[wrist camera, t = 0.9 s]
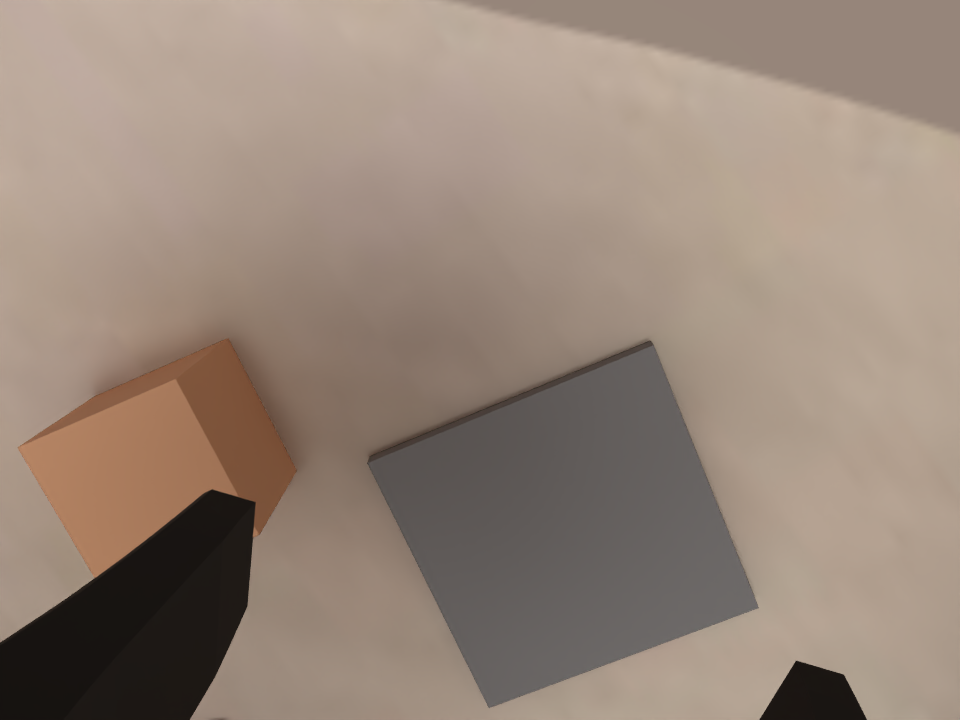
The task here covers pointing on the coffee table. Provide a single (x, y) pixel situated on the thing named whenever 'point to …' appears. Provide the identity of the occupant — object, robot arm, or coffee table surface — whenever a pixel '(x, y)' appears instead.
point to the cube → (159, 454)
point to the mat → (566, 526)
